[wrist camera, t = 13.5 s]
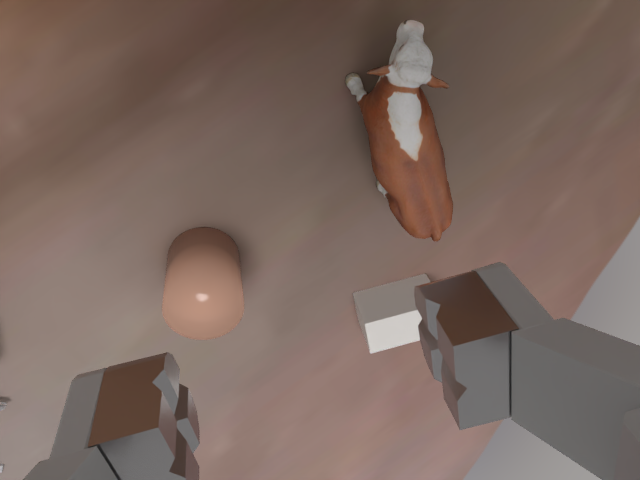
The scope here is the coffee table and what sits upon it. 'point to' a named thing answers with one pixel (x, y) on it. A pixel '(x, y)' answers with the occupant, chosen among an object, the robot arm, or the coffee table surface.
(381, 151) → the bull figurine
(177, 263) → the peach rounded capsule
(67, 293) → the coffee table surface
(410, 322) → the off-white brick
